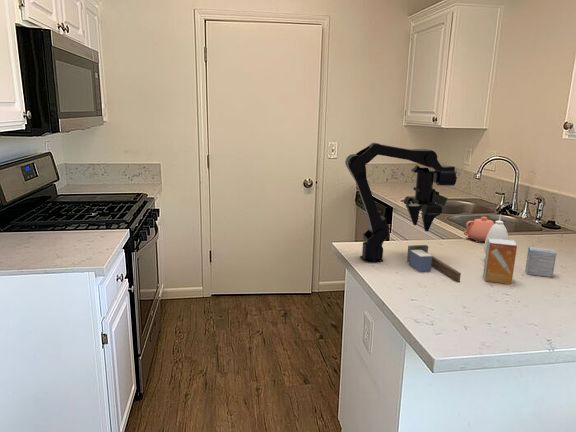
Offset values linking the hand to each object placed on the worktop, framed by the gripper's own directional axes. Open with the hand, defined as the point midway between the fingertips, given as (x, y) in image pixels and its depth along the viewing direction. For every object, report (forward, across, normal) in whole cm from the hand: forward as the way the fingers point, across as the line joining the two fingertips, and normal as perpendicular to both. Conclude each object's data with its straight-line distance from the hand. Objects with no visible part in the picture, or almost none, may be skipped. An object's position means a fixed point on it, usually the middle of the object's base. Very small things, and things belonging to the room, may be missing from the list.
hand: (420, 228), depth 168 cm
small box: (+12, -23, -17) cm, 31 cm away
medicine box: (+12, -19, -35) cm, 42 cm away
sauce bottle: (+12, -6, -27) cm, 30 cm away
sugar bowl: (+12, +24, -40) cm, 48 cm away
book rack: (+12, -12, +1) cm, 17 cm away
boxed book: (+12, -9, +4) cm, 15 cm away
